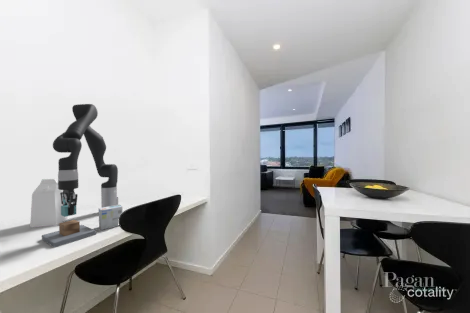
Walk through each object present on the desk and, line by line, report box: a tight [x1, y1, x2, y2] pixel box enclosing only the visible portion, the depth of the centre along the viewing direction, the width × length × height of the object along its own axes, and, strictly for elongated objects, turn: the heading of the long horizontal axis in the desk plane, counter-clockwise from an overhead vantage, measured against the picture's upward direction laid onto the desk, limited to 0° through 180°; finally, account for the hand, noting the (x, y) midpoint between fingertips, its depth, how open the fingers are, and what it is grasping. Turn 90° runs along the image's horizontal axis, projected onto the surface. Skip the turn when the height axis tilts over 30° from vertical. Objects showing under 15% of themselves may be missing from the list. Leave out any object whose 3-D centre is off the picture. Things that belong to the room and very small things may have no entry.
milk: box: [29, 178, 68, 228], centre depth 116 cm, size 12×12×26 cm
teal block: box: [61, 205, 77, 217], centre depth 96 cm, size 4×4×4 cm
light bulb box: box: [98, 204, 124, 231], centre depth 110 cm, size 11×7×11 cm, turn 135°
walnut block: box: [58, 219, 81, 236], centre depth 96 cm, size 6×6×5 cm
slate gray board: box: [41, 224, 97, 248], centre depth 96 cm, size 16×16×2 cm
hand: (69, 213), depth 96 cm, fingers closed on teal block, 4 cm apart
